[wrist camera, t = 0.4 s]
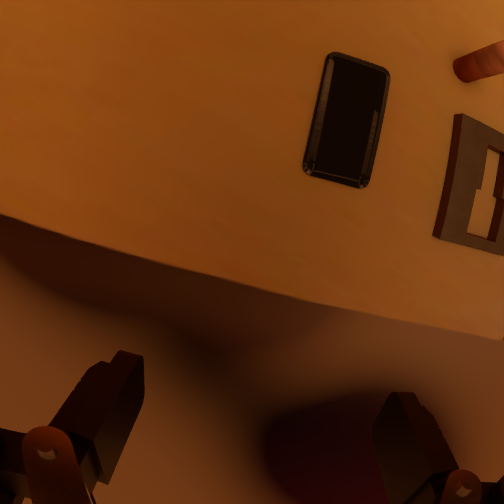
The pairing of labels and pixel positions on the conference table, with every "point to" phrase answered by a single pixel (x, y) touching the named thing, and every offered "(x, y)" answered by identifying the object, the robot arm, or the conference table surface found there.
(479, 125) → the keyhole plate
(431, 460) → the robot arm
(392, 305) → the conference table surface
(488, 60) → the peg
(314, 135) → the phone
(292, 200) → the conference table surface
